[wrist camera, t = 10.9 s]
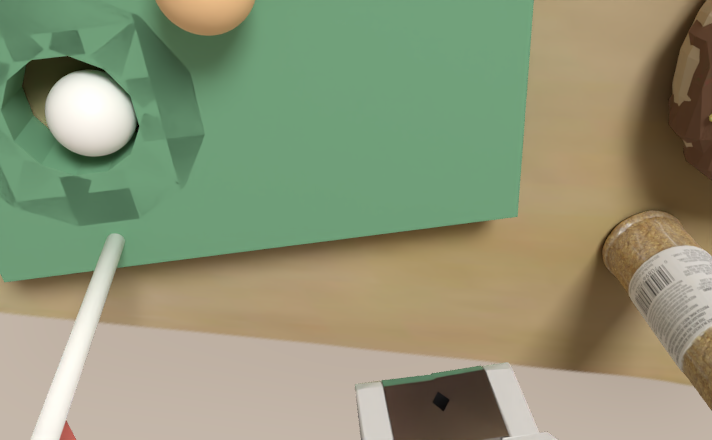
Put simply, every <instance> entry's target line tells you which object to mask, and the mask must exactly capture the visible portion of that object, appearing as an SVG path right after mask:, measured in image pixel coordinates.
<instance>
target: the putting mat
mask: <svg viewBox="0 0 712 440" xmlns="http://www.w3.org/2000/svg"><path fill="white" fill-rule="evenodd" d="M533 3H534V0H255V3H254V5H253V8H252V10H251V11H250V13H249V15H248V16H247V17H246V18H245V20H244V21H243V22H242V23H241V24H239V25H238V26H237V27H235V28H234V29H232V30H230V31H228V32H226V33H223V34H219V35H212V36H205V35H198V34H193V33H190V32H187V31H185V30H183V29H181V28H180V27H178V26H177V25H175V24H174V23H173V22H171V21H170V20H169V19H168V18H167V17H166V16H165V15H164V13H163V12H162V11H161V10H160V8H159V6H158V5H157V3H156V1H155V0H0V274H1V276H2V278H3V280H4V282H10V281H18V280H26V279H34V278H42V277H50V276H57V275H65V274H73V273H81V272H89V271H94V273H93V276H92V278H91V281H90V284H89V286H88V289H87V291H86V294H85V297H84V299H83V302H82V305H81V307H80V310H79V313H78V315H77V318H76V321H75V323H74V326H73V329H72V331H71V334H70V336H69V339H68V342H67V344H66V347H65V350H64V352H63V355H62V358H61V360H60V363H59V366H58V368H57V371H56V374H55V376H54V379H53V382H52V384H51V387H50V390H49V392H48V395H47V397H46V400H45V403H44V406H43V408H42V411H41V413H40V416H39V419H38V421H37V424H36V426H35V430H34V432H33V434H32V437H31V440H76V438H75V437H74V435H73V433H72V431H71V429H70V427H69V425H68V423H67V421H66V418H67V415H68V412H69V409H70V406H71V403H72V400H73V397H74V394H75V391H76V388H77V385H78V382H79V379H80V376H81V373H82V370H83V367H84V364H85V361H86V358H87V355H88V352H89V349H90V346H91V343H92V340H93V337H94V334H95V331H96V328H97V325H98V322H99V319H100V316H101V313H102V310H103V307H104V304H105V301H106V298H107V295H108V292H109V289H110V286H111V283H112V280H113V277H114V274H115V271H116V268H120V267H128V266H136V265H143V264H151V263H159V262H167V261H175V260H183V259H190V258H198V257H206V256H214V255H222V254H230V253H237V252H245V251H253V250H261V249H269V248H277V247H284V246H292V245H300V244H308V243H316V242H323V241H331V240H339V239H347V238H355V237H363V236H370V235H378V234H386V233H394V232H402V231H410V230H417V229H425V228H433V227H441V226H449V225H456V224H464V223H472V222H480V221H488V220H496V219H503V218H511V217H517V216H518V202H519V189H520V176H521V162H522V149H523V136H524V122H525V109H526V96H527V83H528V69H529V56H530V43H531V29H532V16H533ZM62 56H69V57H72V58H75V59H77V60H80V61H83V62H85V63H88V64H91V65H94V66H96V67H99V68H102V69H104V70H105V71H106V72H107V73H108V74H109V75H110V76H111V77H112V78H113V79H114V80H115V81H116V82H117V83H118V84H119V85H120V86H121V87H122V88H123V89H124V90H125V91H126V92H127V93H128V94H129V95H130V96H131V100H132V103H133V107H134V110H135V113H136V117H137V120H138V123H139V130H138V131H136V132H135V133H134V134H133V136H132V137H131V139H130V140H129V141H128V142H127V144H126V145H124V146H123V147H122V148H121V149H119V150H117V151H116V152H114V153H111V154H108V155H104V156H94V157H91V156H84V155H80V154H77V153H75V152H72V151H70V150H69V149H67V148H66V147H64V146H63V145H61V144H60V143H59V142H58V141H57V140H56V138H55V137H54V136H53V134H52V133H51V131H50V130H49V129H48V128H47V127H46V126H45V125H44V124H43V123H41V122H40V121H39V120H38V119H37V118H36V117H35V116H34V115H33V113H32V110H31V108H30V105H29V103H28V100H27V98H26V95H25V93H24V90H23V88H22V84H23V79H24V74H25V69H26V64H27V63H28V62H29V61H31V60H36V59H44V58H53V57H62Z"/></svg>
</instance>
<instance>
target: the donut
mask: <svg viewBox="0 0 712 440" xmlns="http://www.w3.org/2000/svg"><path fill="white" fill-rule="evenodd" d="M672 90H673V94H672V95H671V97H670V98H669V126H670V127H671V128H672V129H673V131H674V132H675V133H676V134H677V135H678V136H679V137H681V138H682V139H683V142H684V151H683V152H684V155H685V159H686V161H687V162H688V163H690V164H691V165H692V166H694V167H695V168H696V169H698V170H699V171H700V172H702V173H703V174H704V175H705V176H707V177H708V178H709V179H711V180H712V0H706V2H705V3H704V4H703V6H702V7H701V8H700V10H699V12H698V14H697V16H696V18H695V20H694V22H693V24H692V26H691V28H690V29H689V31H688V34H687V36H686V38H685V40H684V42H683V44H682V47H681V49H680V53H679V58H678V62H677V66H676V70H675V75H674V79H673V83H672Z"/></svg>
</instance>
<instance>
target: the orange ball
mask: <svg viewBox="0 0 712 440" xmlns="http://www.w3.org/2000/svg"><path fill="white" fill-rule="evenodd" d="M155 1H156V3H157V5H158V6H159V8H160V10H161V11H162V12H163V13H164V15H165V16H166V17H167V18H168V19H169V20H170V21H171V22H173V23H174V24H175V25H177V26H178V27H180V28H181V29H183V30H185V31H187V32H190V33H193V34H198V35H205V36H212V35H219V34H223V33H226V32H228V31H230V30H232V29H234V28H235V27H237V26H238V25H239V24H241V23H242V22H243V21H244V20H245V18H246V17H247V16H248V15H249V13H250V11H251V10H252V8H253V5H254V3H255V0H155Z"/></svg>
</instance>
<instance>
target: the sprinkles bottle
mask: <svg viewBox="0 0 712 440" xmlns="http://www.w3.org/2000/svg"><path fill="white" fill-rule="evenodd" d="M603 261H604V263H605V265H606V267H607V269H608V270H609V271H610V272H611V273H612V274H613V275H615V276H616V277H617V279H618V280H619V282H620V283H621V284H622V286H623V287H624V289H625V290H626V292H627V293H628V295H629V296H630V299H631V300H632V302H633V303H634V305H635V306H636V308H637V309H638V311H639V312H640V313H641V315H642V316H643V318H644V319H645V320H646V322H647V323H648V325H649V326H650V328H651V329H652V331H653V332H654V333H655V335H656V336H657V338H658V339H659V341H660V342H661V343H662V345H663V346H664V348H665V349H666V350H667V352H668V353H669V355H670V356H671V357H672V359H673V360H674V362H675V363H676V365H677V366H678V367H679V368H680V370H681V371H682V372H683V373H684V374H685V375H686V376H687V377H688V379H689V380H690V382H691V383H692V384H693V386H694V387H695V388H696V390H697V391H698V392H699V394H700V396H701V397H702V398H703V399H704V401H705V402H706V403H707V405H708V406H709V408H710V409H711V410H712V256H711V255H710V254H709V253H707V252H706V251H705V250H703V249H702V248H701V247H700V246H699V245H698V244H697V242H696V241H695V240H694V239H693V238H692V237H691V236H690V235H689V234H688V233H687V232H686V231H685V230H684V228H683V227H682V224H681V222H680V221H679V220H678V219H677V218H676V217H674V216H673V215H671V214H669V213H666V212H663V211H653V210H650V211H645V212H641V213H639V214H636V215H633V216H631V217H629V218H627V219H625V220H624V221H622V222H621V223H620V224H618V225H617V226H616V227H615V229H614V230H613V231H612V232H611V234H610V235H609V236H608V238H607V240H606V242H605V244H604V247H603Z"/></svg>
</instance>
